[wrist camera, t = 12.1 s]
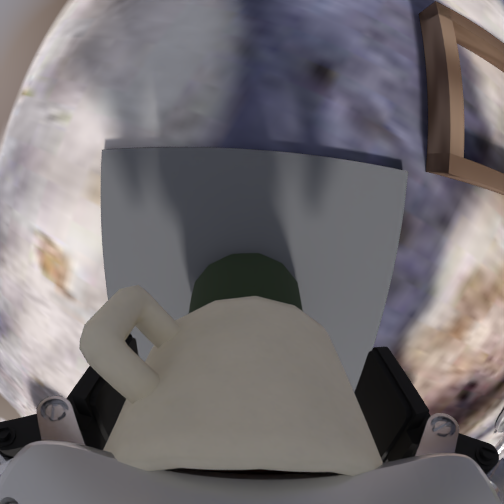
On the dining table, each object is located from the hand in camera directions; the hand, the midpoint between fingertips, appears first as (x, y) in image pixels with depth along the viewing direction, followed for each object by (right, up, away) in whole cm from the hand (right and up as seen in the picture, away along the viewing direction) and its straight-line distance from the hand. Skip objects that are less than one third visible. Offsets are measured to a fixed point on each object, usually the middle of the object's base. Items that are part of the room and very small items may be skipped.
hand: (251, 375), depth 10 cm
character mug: (0, +2, +7) cm, 7 cm away
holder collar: (+20, +15, +3) cm, 25 cm away
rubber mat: (0, +2, +7) cm, 7 cm away
